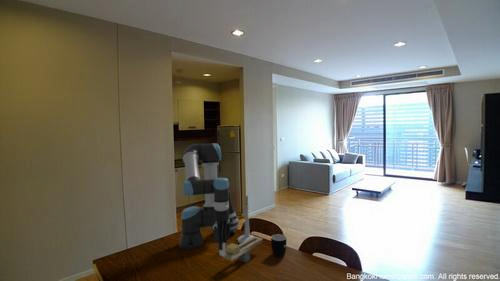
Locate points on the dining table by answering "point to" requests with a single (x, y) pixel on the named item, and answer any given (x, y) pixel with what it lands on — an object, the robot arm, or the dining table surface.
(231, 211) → the vase
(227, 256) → the beam
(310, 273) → the dining table surface
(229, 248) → the rider
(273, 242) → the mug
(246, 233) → the candlestick
